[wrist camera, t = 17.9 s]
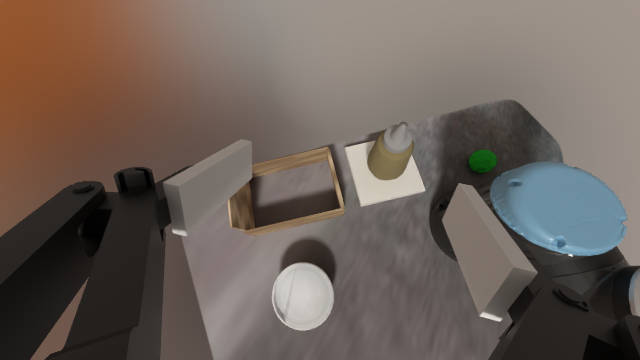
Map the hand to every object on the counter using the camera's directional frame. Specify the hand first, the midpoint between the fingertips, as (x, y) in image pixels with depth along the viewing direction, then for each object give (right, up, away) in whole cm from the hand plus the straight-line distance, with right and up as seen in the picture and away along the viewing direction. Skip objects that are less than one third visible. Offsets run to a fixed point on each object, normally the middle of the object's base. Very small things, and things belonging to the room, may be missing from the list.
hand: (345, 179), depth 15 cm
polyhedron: (+33, +3, +38) cm, 50 cm away
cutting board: (+12, +2, +39) cm, 41 cm away
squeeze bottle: (+12, +3, +38) cm, 40 cm away
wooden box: (-8, -4, +39) cm, 40 cm away
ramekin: (-4, -22, +33) cm, 40 cm away
